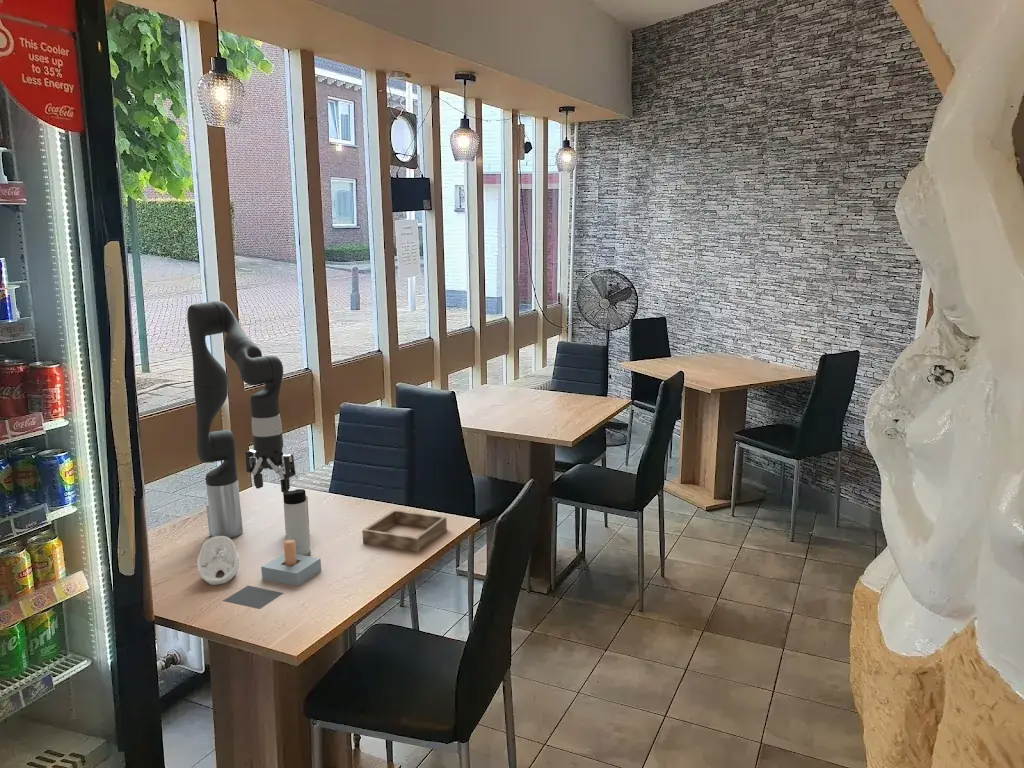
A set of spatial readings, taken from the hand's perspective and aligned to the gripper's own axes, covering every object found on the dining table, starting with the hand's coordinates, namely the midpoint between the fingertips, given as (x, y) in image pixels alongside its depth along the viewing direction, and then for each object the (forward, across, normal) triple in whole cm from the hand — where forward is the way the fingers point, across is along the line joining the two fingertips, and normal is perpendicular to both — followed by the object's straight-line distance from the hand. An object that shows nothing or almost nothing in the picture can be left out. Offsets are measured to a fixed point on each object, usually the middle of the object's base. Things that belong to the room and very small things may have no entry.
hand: (272, 489), depth 205 cm
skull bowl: (+25, -15, -6) cm, 30 cm away
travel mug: (+25, -3, +13) cm, 29 cm away
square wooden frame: (+25, +19, +36) cm, 48 cm away
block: (+25, +4, +1) cm, 25 cm away
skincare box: (+26, -14, +26) cm, 39 cm away
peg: (+25, +4, +1) cm, 25 cm away
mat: (+25, +2, -13) cm, 28 cm away
